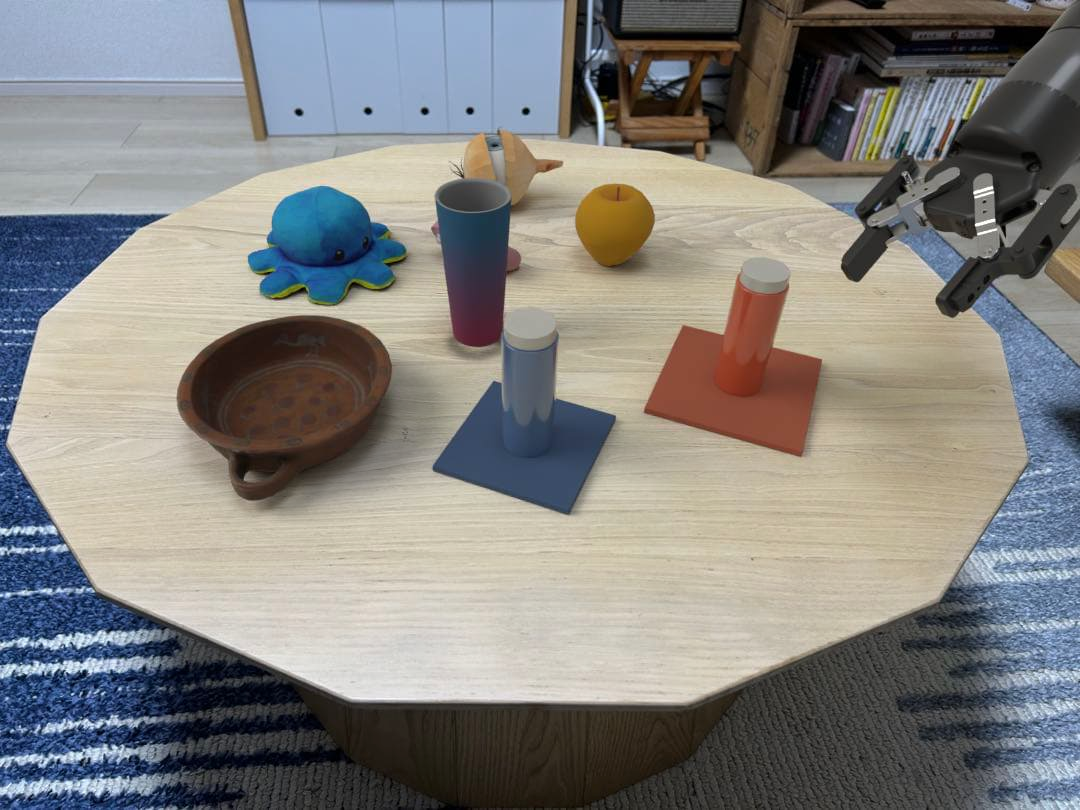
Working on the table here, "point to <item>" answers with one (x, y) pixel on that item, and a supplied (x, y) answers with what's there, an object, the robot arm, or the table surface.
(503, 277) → the cup
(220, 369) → the dish
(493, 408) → the blue mat
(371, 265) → the plush toy
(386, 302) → the table surface
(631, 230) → the apple
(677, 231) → the table surface
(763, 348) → the terracotta shaker
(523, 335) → the blue shaker
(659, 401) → the terracotta mat
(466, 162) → the sculpture
